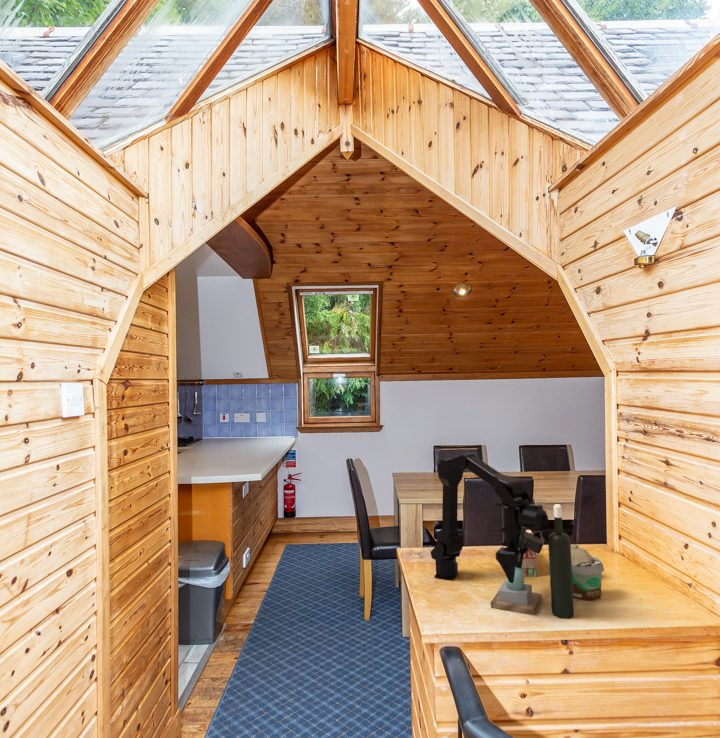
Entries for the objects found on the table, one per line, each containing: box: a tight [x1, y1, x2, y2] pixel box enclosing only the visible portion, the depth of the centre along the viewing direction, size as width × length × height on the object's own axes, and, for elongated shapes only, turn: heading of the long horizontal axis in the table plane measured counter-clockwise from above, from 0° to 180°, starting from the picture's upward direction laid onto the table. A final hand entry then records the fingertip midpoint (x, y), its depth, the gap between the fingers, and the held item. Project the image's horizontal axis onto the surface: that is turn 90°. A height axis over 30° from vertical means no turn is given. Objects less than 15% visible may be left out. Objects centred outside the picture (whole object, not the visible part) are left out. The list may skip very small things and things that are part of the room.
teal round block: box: [505, 567, 525, 591], centre depth 154 cm, size 5×5×5 cm
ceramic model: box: [571, 543, 594, 566], centre depth 175 cm, size 14×11×10 cm
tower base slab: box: [490, 591, 543, 616], centre depth 153 cm, size 12×12×2 cm
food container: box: [572, 556, 605, 602], centre depth 156 cm, size 12×6×10 cm, turn 117°
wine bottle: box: [547, 503, 575, 619], centre depth 146 cm, size 6×6×30 cm
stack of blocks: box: [521, 529, 538, 578], centre depth 185 cm, size 21×6×12 cm, turn 169°
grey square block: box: [497, 580, 533, 605], centre depth 153 cm, size 8×8×3 cm
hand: (515, 577), depth 154 cm, fingers open, 9 cm apart
